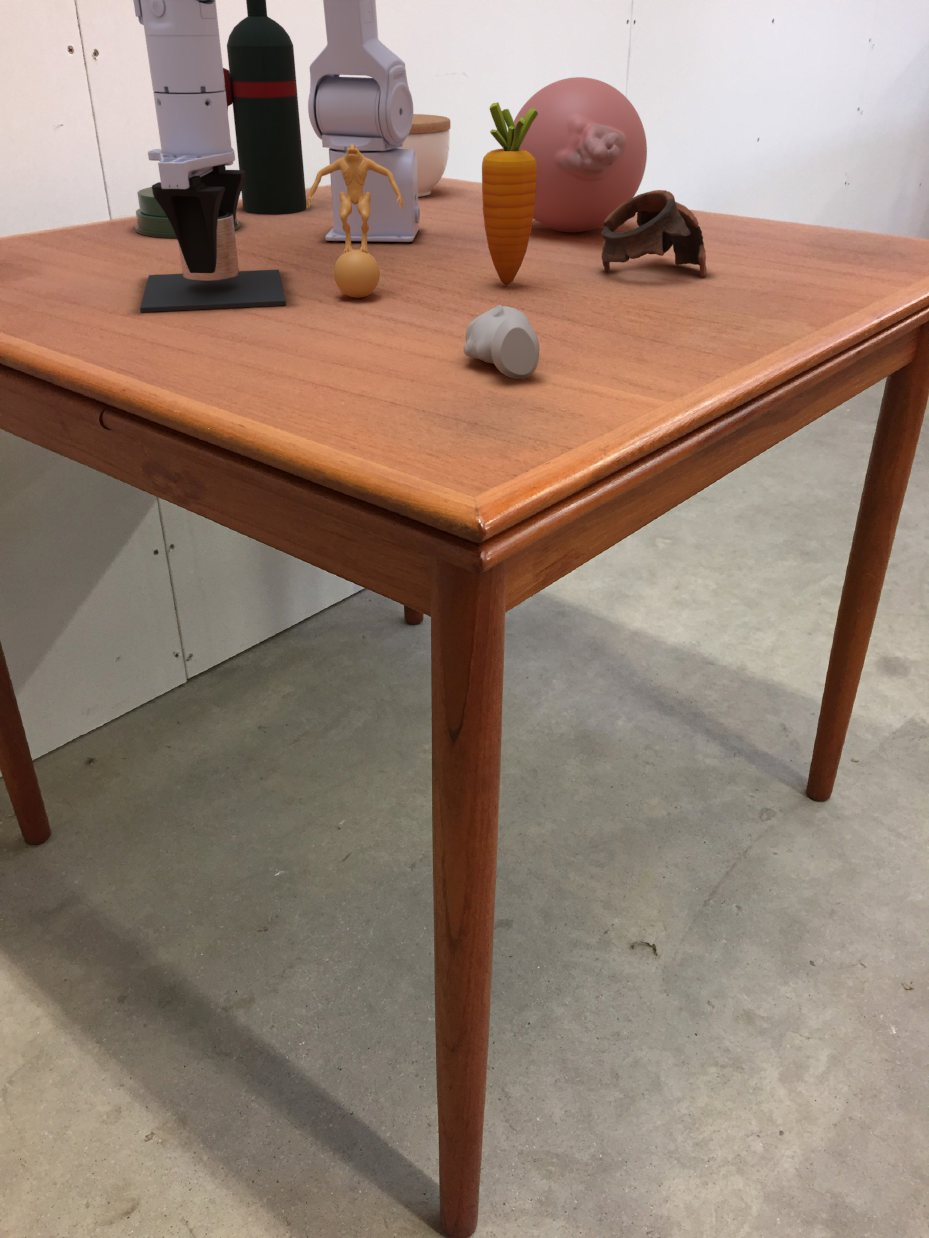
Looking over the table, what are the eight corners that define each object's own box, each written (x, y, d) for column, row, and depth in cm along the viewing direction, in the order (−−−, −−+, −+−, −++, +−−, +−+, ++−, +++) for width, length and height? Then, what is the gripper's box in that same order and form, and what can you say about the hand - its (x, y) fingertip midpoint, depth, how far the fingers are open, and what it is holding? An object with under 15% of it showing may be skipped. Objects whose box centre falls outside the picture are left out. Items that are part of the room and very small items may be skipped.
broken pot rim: (719, 289, 93) (689, 211, 88) (623, 329, 96) (589, 256, 91) (706, 230, 101) (679, 155, 96) (618, 269, 105) (587, 198, 99)
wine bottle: (224, 205, 128) (191, -81, 112) (304, 202, 130) (283, -80, 114) (224, 216, 122) (188, -86, 106) (308, 213, 123) (286, -85, 108)
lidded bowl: (346, 200, 132) (341, 105, 126) (370, 185, 142) (366, 97, 136) (441, 202, 130) (440, 107, 124) (458, 187, 140) (457, 99, 135)
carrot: (539, 282, 93) (547, 100, 85) (525, 294, 89) (531, 105, 81) (489, 277, 95) (491, 99, 87) (472, 290, 91) (472, 103, 83)
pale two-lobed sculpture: (468, 366, 75) (533, 344, 75) (479, 400, 68) (551, 375, 68) (450, 310, 73) (517, 287, 73) (460, 339, 66) (534, 314, 66)
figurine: (307, 302, 87) (295, 150, 80) (316, 286, 92) (305, 141, 85) (404, 303, 87) (399, 150, 80) (407, 286, 92) (403, 141, 85)
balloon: (513, 254, 103) (517, 85, 95) (498, 219, 120) (501, 73, 112) (661, 253, 104) (678, 85, 96) (626, 218, 121) (638, 73, 113)
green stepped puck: (250, 219, 120) (246, 182, 117) (225, 239, 110) (220, 199, 108) (154, 218, 120) (149, 181, 118) (120, 237, 110) (114, 198, 108)
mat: (279, 273, 96) (278, 269, 96) (286, 305, 86) (285, 300, 86) (149, 279, 94) (148, 275, 93) (140, 312, 84) (139, 307, 83)
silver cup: (245, 269, 91) (238, 209, 88) (231, 282, 87) (224, 220, 84) (192, 268, 91) (183, 209, 88) (175, 281, 87) (166, 219, 84)
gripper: (168, 85, 88) (190, 247, 95) (109, 98, 75) (139, 283, 83) (248, 85, 87) (264, 248, 95) (201, 99, 75) (223, 285, 82)
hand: (211, 265), depth 89 cm, fingers closed on silver cup, 5 cm apart
